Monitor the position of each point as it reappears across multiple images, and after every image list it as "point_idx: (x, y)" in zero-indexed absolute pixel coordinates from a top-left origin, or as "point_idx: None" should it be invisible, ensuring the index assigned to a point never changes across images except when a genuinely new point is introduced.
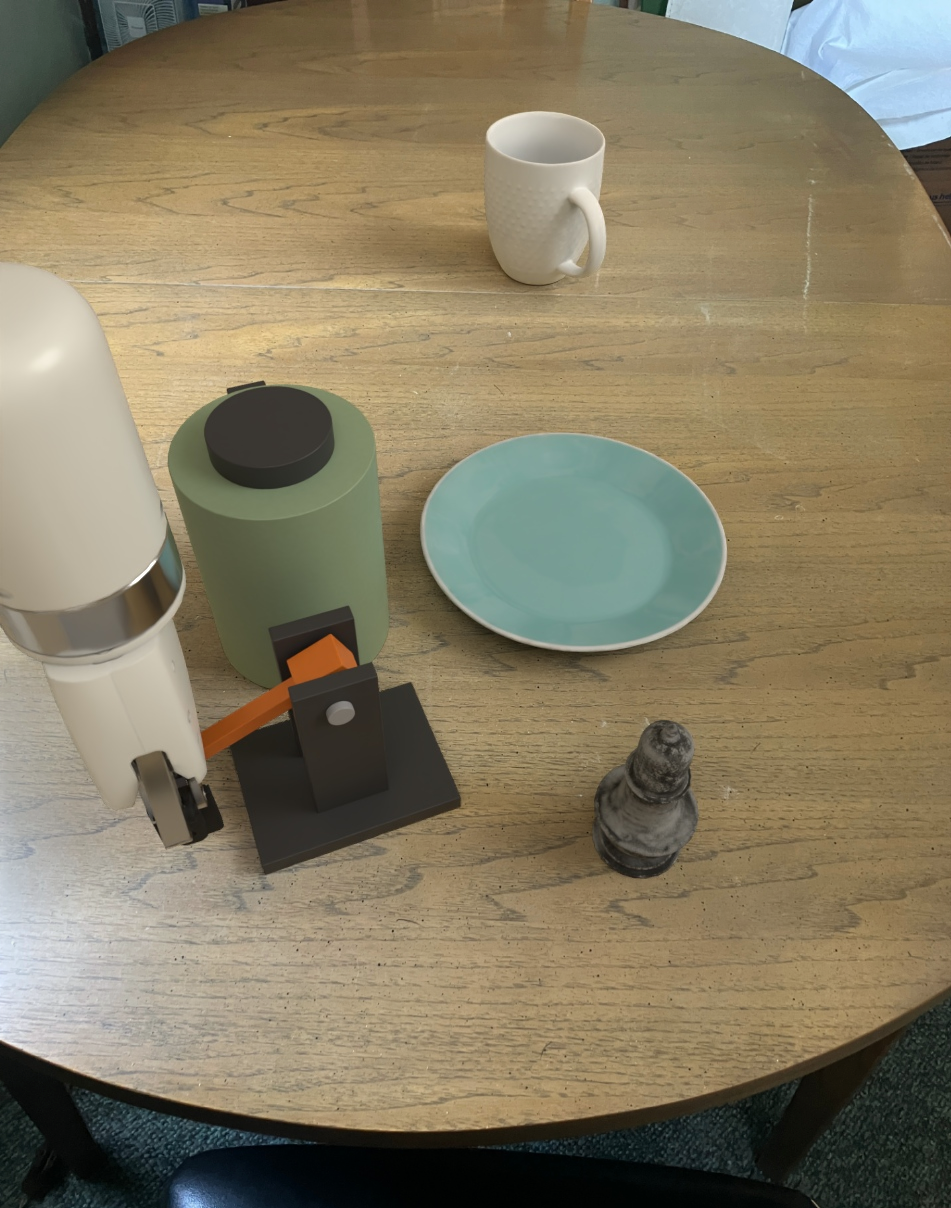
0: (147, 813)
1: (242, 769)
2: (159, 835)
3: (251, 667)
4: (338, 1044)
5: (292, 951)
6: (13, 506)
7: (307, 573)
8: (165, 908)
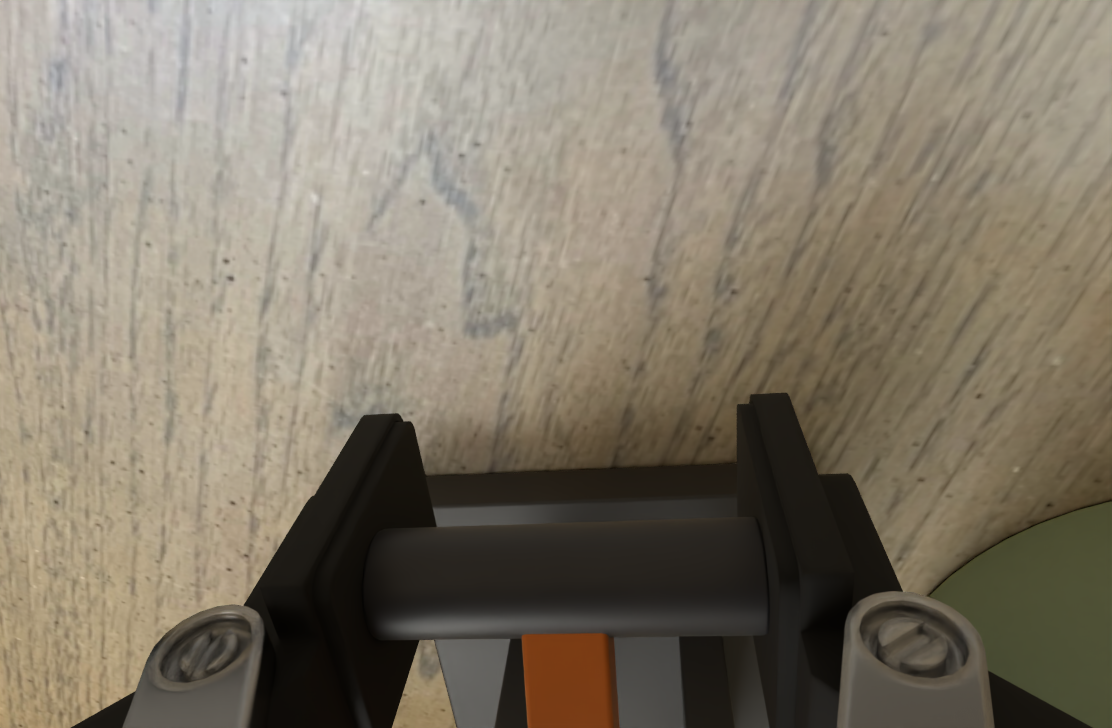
0: (264, 583)
1: (695, 511)
2: (334, 463)
3: (1030, 606)
4: (46, 531)
5: (229, 494)
6: None
7: None
8: (364, 248)
